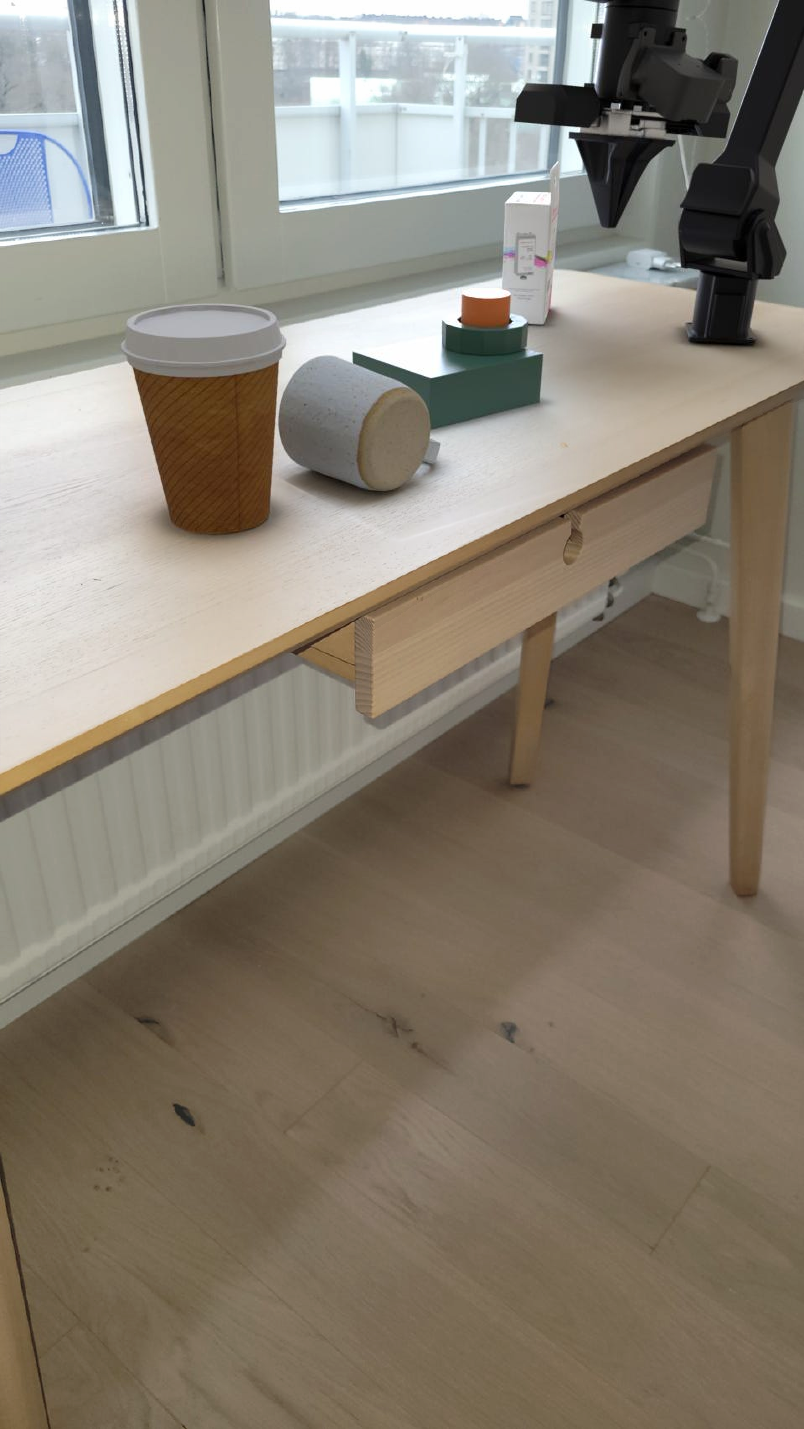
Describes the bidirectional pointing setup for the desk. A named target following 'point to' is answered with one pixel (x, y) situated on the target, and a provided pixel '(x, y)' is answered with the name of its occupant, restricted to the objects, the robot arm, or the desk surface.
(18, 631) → the desk surface
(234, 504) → the disposable coffee cup
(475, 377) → the green button base
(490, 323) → the orange squat cylinder
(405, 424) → the ceramic mug
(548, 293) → the ink cartridge box
